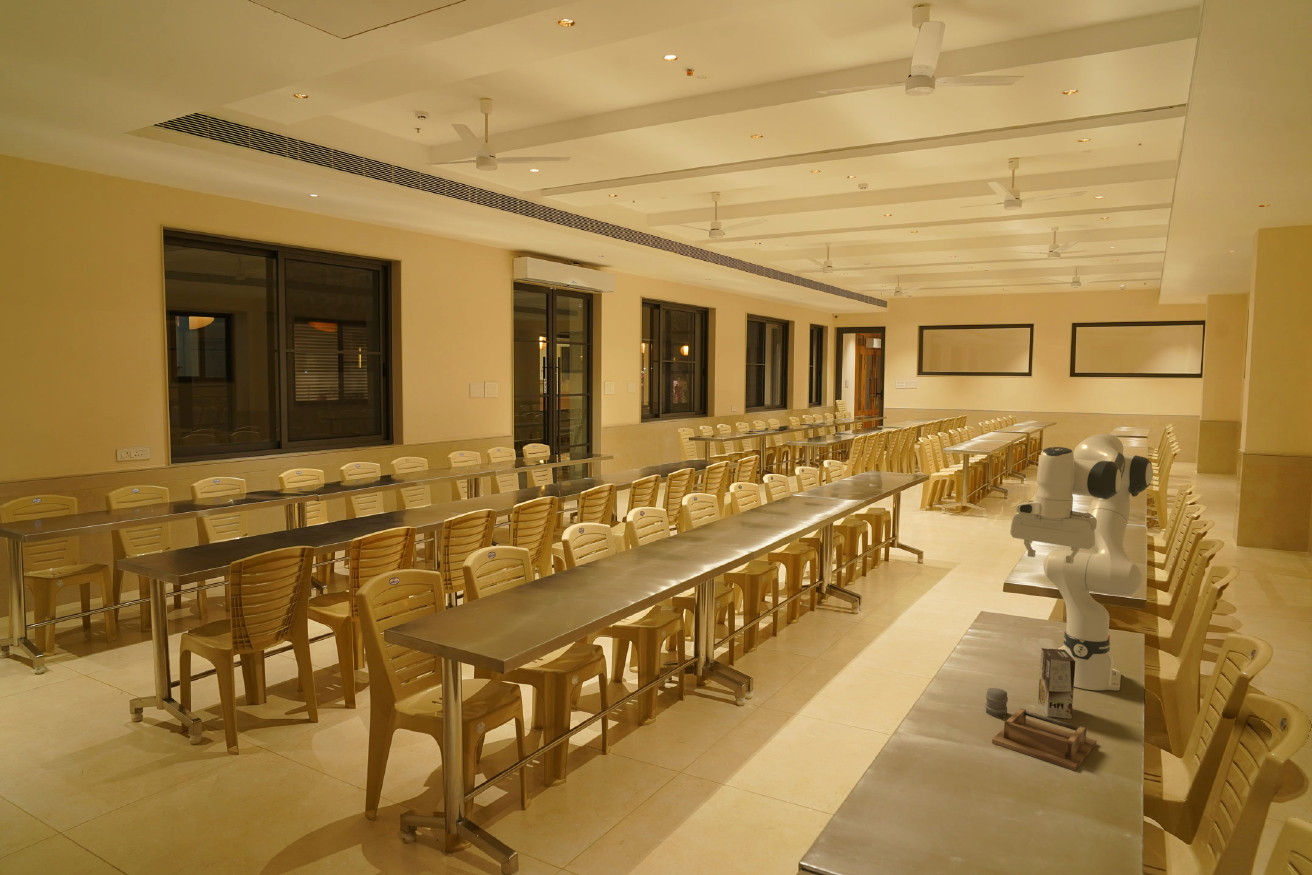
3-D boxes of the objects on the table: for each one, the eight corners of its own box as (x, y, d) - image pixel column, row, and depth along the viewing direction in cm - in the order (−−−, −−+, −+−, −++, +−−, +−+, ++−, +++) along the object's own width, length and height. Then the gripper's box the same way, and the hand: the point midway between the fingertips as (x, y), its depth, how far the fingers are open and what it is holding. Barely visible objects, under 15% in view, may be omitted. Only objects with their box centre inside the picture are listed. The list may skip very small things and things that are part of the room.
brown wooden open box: (1017, 719, 206) (1018, 701, 205) (1096, 744, 193) (1097, 724, 192) (991, 742, 193) (993, 723, 192) (1075, 770, 180) (1076, 750, 179)
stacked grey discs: (989, 706, 213) (990, 686, 213) (1009, 713, 210) (1010, 691, 209) (982, 713, 209) (983, 691, 209) (1002, 719, 206) (1003, 697, 205)
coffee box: (1072, 719, 206) (1076, 661, 205) (1046, 716, 207) (1050, 659, 206) (1062, 704, 215) (1065, 648, 214) (1037, 702, 216) (1040, 646, 215)
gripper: (1100, 512, 199) (1096, 565, 200) (1017, 502, 213) (1014, 551, 214) (1093, 515, 195) (1090, 569, 196) (1009, 504, 209) (1006, 554, 210)
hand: (1050, 559), depth 205 cm, fingers open, 8 cm apart
